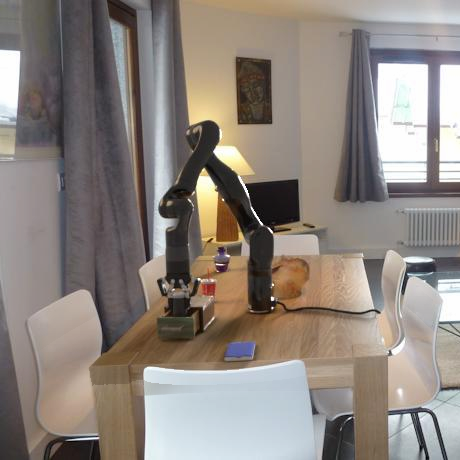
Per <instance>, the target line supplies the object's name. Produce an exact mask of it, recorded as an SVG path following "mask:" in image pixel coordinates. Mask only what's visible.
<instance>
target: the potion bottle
mask: <svg viewBox="0 0 460 460" xmlns="http://www.w3.org/2000/svg"><path fill="white" fill-rule="evenodd" d="M226 252H227V248H226V246H225V245H218V246H217V248H216V253H218V254H216V255H212V260H213V264H214V266H215V269H216V270H215V271H216V272H218V273H225V272H228V270H229V269H228V268H229V264H230V260H231V255H229V254H225V253H226Z"/></svg>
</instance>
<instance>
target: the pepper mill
mask: <svg viewBox="0 0 460 460" xmlns="http://www.w3.org/2000/svg"><path fill="white" fill-rule="evenodd" d="M185 298H186V296H185V293H184V292H183V291H176V292H174V293H173V294H172V302H173V317H187V309H186V306H185Z"/></svg>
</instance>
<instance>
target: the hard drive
mask: <svg viewBox="0 0 460 460" xmlns="http://www.w3.org/2000/svg"><path fill="white" fill-rule="evenodd" d="M255 348H256V341H236V342H228V344H227V348H226V351H225V355H224V362H239V361H242V362H243V361H252V360H253V359H254V354H255Z"/></svg>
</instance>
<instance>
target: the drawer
mask: <svg viewBox="0 0 460 460" xmlns="http://www.w3.org/2000/svg"><path fill="white" fill-rule="evenodd" d="M156 327H157V329H156V331H157V339H195V338H196V333H198V332H197V331H198V329H199V328H200V327H201V315H200V310H187V317H173V310H169V311H168V312H166V313H164V314H163V315H162V316H157V317H156Z"/></svg>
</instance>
